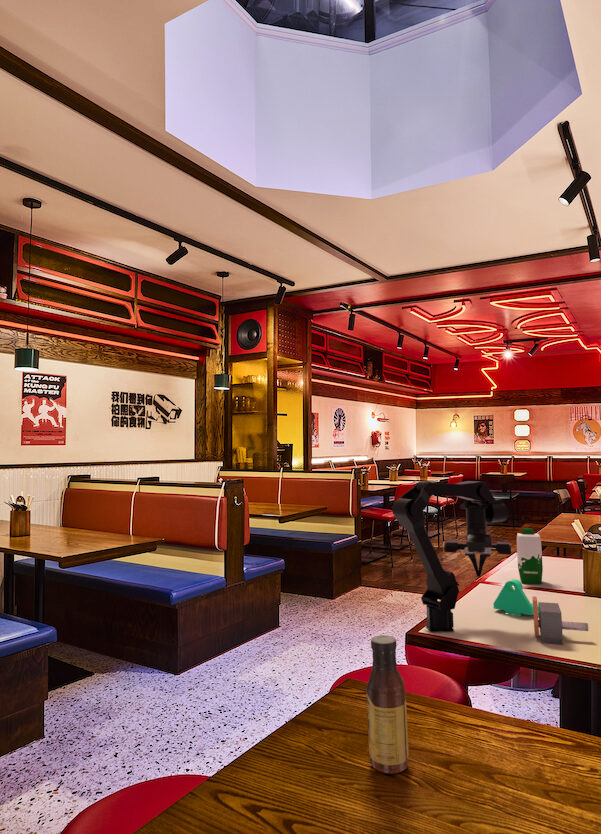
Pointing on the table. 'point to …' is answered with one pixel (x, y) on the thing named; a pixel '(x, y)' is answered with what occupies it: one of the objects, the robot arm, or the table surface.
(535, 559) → the milk carton
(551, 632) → the block
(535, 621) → the lock pin
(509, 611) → the camera mount
